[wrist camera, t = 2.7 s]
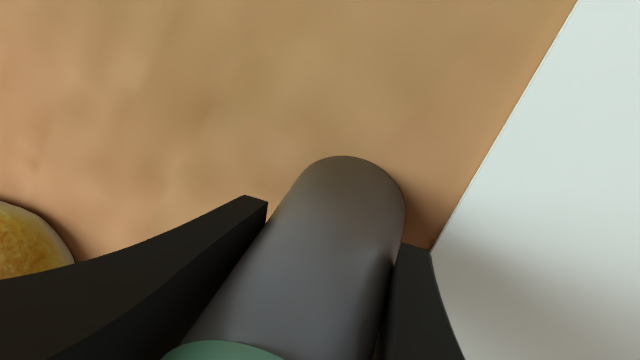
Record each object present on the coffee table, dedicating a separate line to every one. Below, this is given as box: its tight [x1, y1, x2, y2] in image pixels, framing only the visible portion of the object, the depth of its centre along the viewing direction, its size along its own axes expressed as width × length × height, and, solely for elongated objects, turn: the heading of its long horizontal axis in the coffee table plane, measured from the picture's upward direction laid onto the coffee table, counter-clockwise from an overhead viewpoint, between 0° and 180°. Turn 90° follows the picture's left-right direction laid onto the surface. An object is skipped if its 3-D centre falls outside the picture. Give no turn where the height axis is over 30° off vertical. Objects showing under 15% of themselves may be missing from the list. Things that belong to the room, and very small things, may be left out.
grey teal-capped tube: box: [161, 156, 406, 360], centre depth 10 cm, size 3×3×8 cm
